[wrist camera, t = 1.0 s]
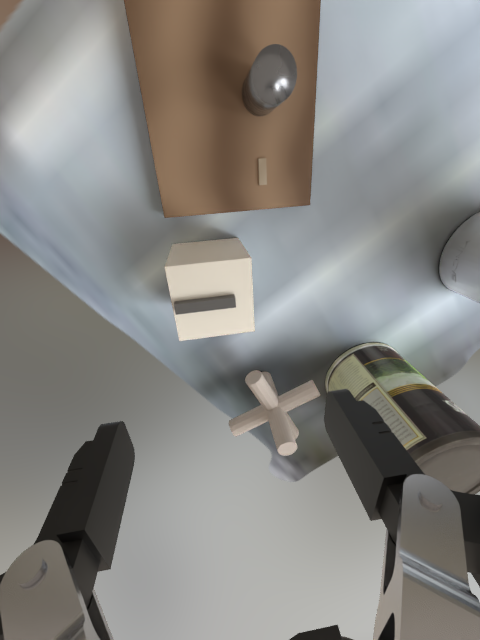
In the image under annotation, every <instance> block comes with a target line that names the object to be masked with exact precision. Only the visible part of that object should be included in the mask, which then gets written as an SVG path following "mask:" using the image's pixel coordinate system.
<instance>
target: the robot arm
mask: <svg viewBox="0 0 480 640" xmlns="http://www.w3.org/2000/svg"><path fill="white" fill-rule="evenodd" d="M439 274H440V278H441V281H442V282H443V284H444V285H445V286H446V287H447V288H448V289H450V290H452V291H454V292H456V293H458V294H460V295H463V296H465V297H467V298H469V299H471V300H474V301H476V302H478V303H480V212H478V213H477V214H475V215H473V216H472V217H470V218H469V219H468V220H466V221H465V222H464V223H463V224H462V225H461V226H460V227H459V228H458V229H457V230H456V231H455V232H454V234H453V235H452V236H451V237H450V239H449V241H448V242H447V244H446V246H445V248H444V250H443V253H442V255H441V259H440V264H439ZM324 422H325V427H326V431H327V433H328V435H329V437H330V439H331V441H332V443H333V445H334V447H335V449H336V451H337V453H338V456H339V458H340V459H341V462H342V463H343V465H344V468H345V469H346V472H347V474H348V476H349V478H350V480H351V481H352V484H353V486H354V488H355V490H356V492H357V494H358V496H359V498H360V500H361V502H362V504H363V506H364V508H365V510H366V512H367V514H368V516H369V518H370V520H371V521H372V520H378V519H382V520H383V522H384V524H385V526H386V528H387V531H386V539H385V550H384V560H383V570H382V580H381V592H380V600H379V605H378V609H377V614H376V620H375V627H374V636H373V640H480V603H479V600H478V598H477V597H476V596H475V595H473V594H472V593H471V591H470V588H469V583H468V574H467V572H470V573H471V574H472V575H473V577H474V578H475V580H476V582H477V583H478V585H479V586H480V495H475V494H468V493H462V492H457V491H452V490H449V488H447V487H446V486H445V485H444V484H443V483H441V482H440V481H438V480H436V479H435V478H432V477H430V476H427V475H425V474H424V473H423V471H422V470H421V469H420V468H419V466H418V465H417V464H416V462H415V461H414V460H413V458H412V457H411V456H410V454H409V453H408V452H407V450H406V449H405V448H404V446H403V445H402V444H401V442H400V441H399V440H398V438H397V437H396V436H395V434H394V433H392V432H391V429H390V428H389V426H388V425H387V424H386V423H385V422H384V420H383V418H382V417H381V416H380V414H379V413H378V412H377V410H376V409H375V408H373V407H372V406H371V405H369V404H368V403H366V402H365V401H364V400H361V401H356V399H355V398H354V396H353V395H352V393H351V392H350V391H349V390H348V389H341V390H335V391H328V393H327V398H326V407H325V416H324ZM134 454H135V453H134V447H133V444H132V442H131V439H130V436H129V434H128V431H127V429H126V426H125V424H124V422H123V421H120V422H114V423H107V424H101V425H100V427H99V428H98V430H97V433H96V435H95V438H94V440H93V441H87V442H85V443H84V444H83V446H82V447H81V448H80V449H79V450H78V451H77V453H76V454H75V455H74V457H73V459H72V462H71V464H70V466H69V468H68V473H66V475H65V477H64V479H63V482H62V486H60V489H59V491H58V493H57V496H56V497H55V500H54V502H53V504H52V507H51V509H50V511H49V513H48V516H47V518H46V520H45V522H44V524H43V527H42V529H41V531H40V534H39V536H38V538H37V540H36V541H35V543H34V545H32V546H31V547H29V548H28V549H26V550H25V551H24V552H23V553H21V555H20V556H19V557H17V558H16V560H15V561H14V562H13V563H12V564H11V566H10V567H9V569H8V570H7V572H5V573H3V574H2V575H0V640H113V637H112V634H111V632H110V629H109V627H108V624H107V621H106V619H105V616H104V614H103V611H102V608H101V606H100V604H99V601H98V598H97V595H96V593H95V590H94V588H93V587H94V584H95V580H96V576H97V572H98V571H103V570H108V569H110V568H111V564H112V560H113V554H114V551H115V545H116V542H117V537H118V533H119V528H120V524H121V519H122V515H123V511H124V506H125V502H126V497H127V493H128V488H129V484H130V480H131V475H132V471H133V466H134V459H135V455H134ZM290 640H353V639H350V638H347V637H342V636H341V635H340V631H339V628H338V625H334V626H330V627H325V628H321V629H316V630H312V631H307V632H303V633H298V634H297V635H295V636H294V637H292V638H291V639H290Z"/></svg>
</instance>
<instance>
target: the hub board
mask: <svg viewBox="0 0 480 640" xmlns="http://www.w3.org/2000/svg"><path fill="white" fill-rule="evenodd" d="M124 3H125V9H126V14H127V19H128V25H129V30H130V35H131V41H132V46H133V51H134V57H135V62H136V67H137V73H138V78H139V83H140V89H141V94H142V100H143V105H144V110H145V116H146V121H147V126H148V132H149V137H150V142H151V148H152V153H153V158H154V164H155V169H156V174H157V180H158V185H159V191H160V196H161V201H162V207H163V212H164V217H165V218H169V217H181V216H192V215H203V214H214V213H226V212H237V211H248V210H259V209H271V208H282V207H293V206H304V205H310V196H311V177H312V157H313V138H314V119H315V99H316V80H317V61H318V42H319V22H320V3H321V0H124ZM271 44H279V45H282V46H284V47H286V48H287V49H288V50H289V51H290V52H291V54H292V55H293V57H294V59H295V62H296V66H297V80H296V84H295V87H294V90H293V92H292V93H291V95H290V96H289V97H288V98H287V99H286V100H285V101H284V102H282V103H281V104H280V105H279V106H278V107H276V108H275V109H274V110H273V111H272V112H270V113H269V114H267V115H265V116H255V115H253V114H251V113H250V112H249V111H248V110H247V109H246V107H245V105H244V103H243V99H242V86H243V83H244V80H245V78H246V76H247V74H248V72H249V70H250V69H251V67H252V65H253V63H254V61H255V59H256V57H257V55H258V54H259V52H260V51H261V50H262V49H263V48H265V47H266V46H268V45H271Z"/></svg>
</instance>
